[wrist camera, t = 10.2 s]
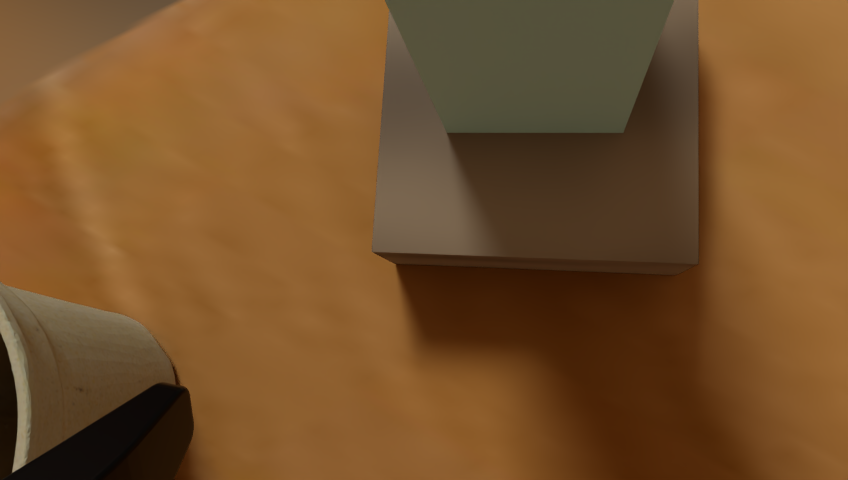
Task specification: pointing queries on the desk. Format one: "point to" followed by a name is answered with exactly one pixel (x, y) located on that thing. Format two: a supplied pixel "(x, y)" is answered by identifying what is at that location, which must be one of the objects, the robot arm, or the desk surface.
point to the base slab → (545, 178)
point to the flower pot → (65, 370)
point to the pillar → (532, 61)
